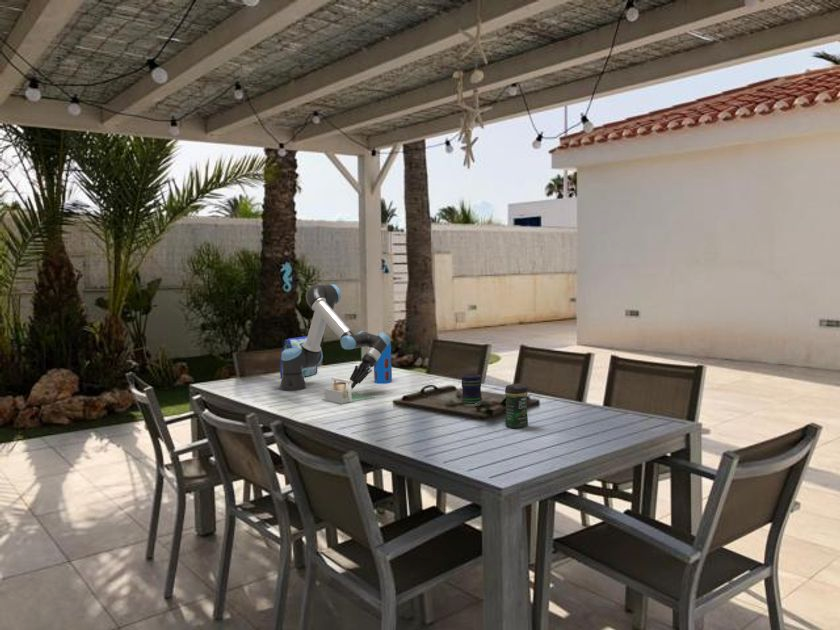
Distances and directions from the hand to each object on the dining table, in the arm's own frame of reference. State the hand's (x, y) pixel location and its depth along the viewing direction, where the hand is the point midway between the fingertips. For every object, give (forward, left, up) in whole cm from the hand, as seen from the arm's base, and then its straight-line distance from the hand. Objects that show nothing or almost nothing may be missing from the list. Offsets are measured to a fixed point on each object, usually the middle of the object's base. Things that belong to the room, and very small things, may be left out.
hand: (347, 392), depth 360 cm
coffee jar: (+105, +16, -4) cm, 106 cm away
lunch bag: (-87, +23, -4) cm, 90 cm away
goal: (0, -6, -4) cm, 7 cm away
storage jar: (+60, +34, -4) cm, 69 cm away
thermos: (-28, +46, -4) cm, 54 cm away
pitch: (-2, +2, -4) cm, 5 cm away
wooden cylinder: (0, -5, -4) cm, 6 cm away
